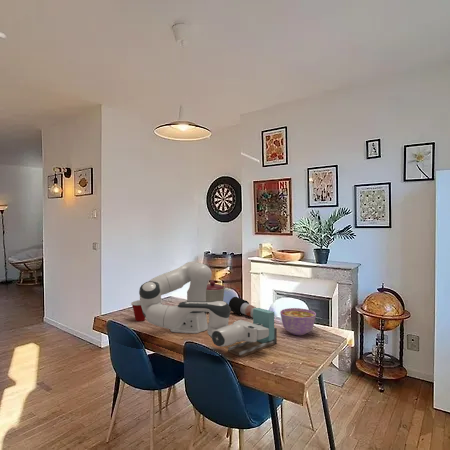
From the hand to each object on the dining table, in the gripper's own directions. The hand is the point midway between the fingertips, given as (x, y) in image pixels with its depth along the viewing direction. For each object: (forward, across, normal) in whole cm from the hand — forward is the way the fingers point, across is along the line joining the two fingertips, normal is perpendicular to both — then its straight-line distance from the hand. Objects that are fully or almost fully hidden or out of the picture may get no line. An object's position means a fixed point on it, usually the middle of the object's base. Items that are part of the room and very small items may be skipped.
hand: (261, 325), depth 172 cm
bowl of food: (+29, +2, -10) cm, 31 cm away
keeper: (+2, 0, -9) cm, 9 cm away
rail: (-6, 0, -10) cm, 12 cm away
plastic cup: (-27, -80, -10) cm, 85 cm away
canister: (+22, -67, -10) cm, 71 cm away
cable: (+32, -37, -10) cm, 50 cm away
